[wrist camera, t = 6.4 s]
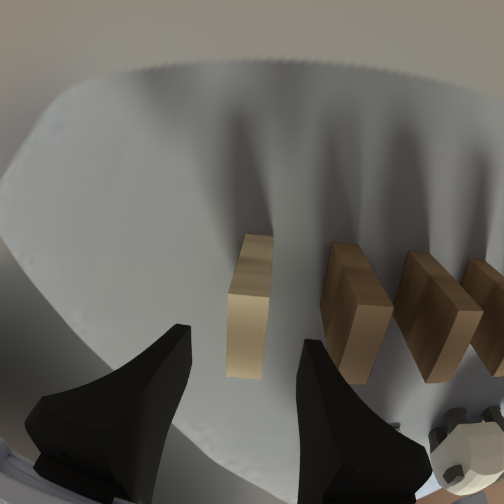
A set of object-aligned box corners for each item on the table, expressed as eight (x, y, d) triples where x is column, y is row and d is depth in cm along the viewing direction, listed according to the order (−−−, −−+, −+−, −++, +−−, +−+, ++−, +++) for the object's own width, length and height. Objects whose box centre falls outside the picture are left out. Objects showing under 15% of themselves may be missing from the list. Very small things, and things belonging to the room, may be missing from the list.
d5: (343, 308, 20) (365, 384, 14) (319, 306, 20) (333, 383, 14) (358, 244, 18) (394, 307, 12) (332, 242, 18) (357, 304, 12)
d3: (465, 314, 20) (509, 375, 13) (449, 314, 20) (492, 377, 13) (485, 260, 18) (542, 312, 12) (469, 258, 18) (526, 312, 12)
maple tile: (267, 301, 20) (261, 379, 14) (242, 299, 20) (226, 376, 14) (273, 236, 19) (269, 297, 12) (245, 233, 19) (227, 293, 12)
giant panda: (415, 439, 26) (436, 514, 17) (445, 404, 23) (476, 484, 15) (499, 433, 26) (523, 488, 17) (525, 402, 24) (556, 458, 15)
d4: (411, 312, 20) (449, 381, 13) (391, 311, 20) (425, 383, 13) (429, 253, 18) (483, 311, 12) (408, 251, 18) (458, 310, 12)
